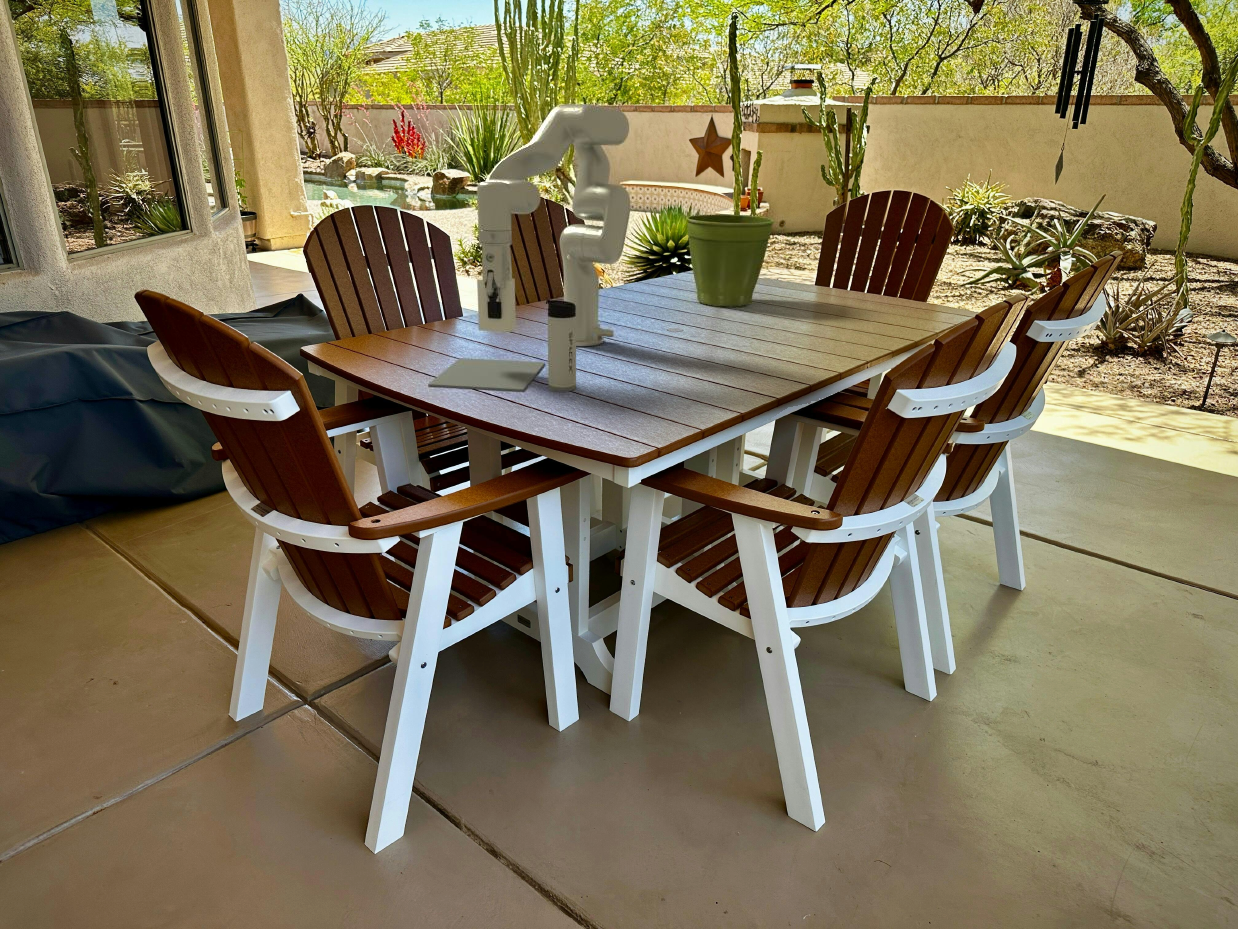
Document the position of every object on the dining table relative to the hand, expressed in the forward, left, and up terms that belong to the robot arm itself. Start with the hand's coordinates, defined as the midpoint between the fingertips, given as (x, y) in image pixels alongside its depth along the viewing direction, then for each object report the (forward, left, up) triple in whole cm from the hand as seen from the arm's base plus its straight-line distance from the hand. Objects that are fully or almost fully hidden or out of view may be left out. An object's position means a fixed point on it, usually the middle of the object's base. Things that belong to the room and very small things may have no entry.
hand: (497, 315), depth 194 cm
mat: (+1, +6, -13) cm, 14 cm away
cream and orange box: (0, 0, -3) cm, 3 cm away
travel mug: (-18, +14, -13) cm, 26 cm away
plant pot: (-55, -100, -13) cm, 115 cm away
